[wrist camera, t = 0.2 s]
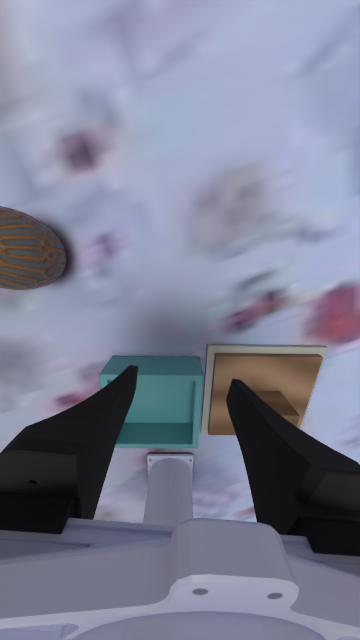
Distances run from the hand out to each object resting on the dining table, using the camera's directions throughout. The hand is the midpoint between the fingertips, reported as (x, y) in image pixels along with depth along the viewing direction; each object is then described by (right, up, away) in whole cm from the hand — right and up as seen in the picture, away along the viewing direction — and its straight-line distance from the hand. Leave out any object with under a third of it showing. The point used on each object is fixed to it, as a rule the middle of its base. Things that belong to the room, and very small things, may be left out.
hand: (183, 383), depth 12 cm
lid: (+11, -6, +12) cm, 18 cm away
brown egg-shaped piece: (-15, +12, +6) cm, 21 cm away
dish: (-4, -6, +12) cm, 14 cm away
